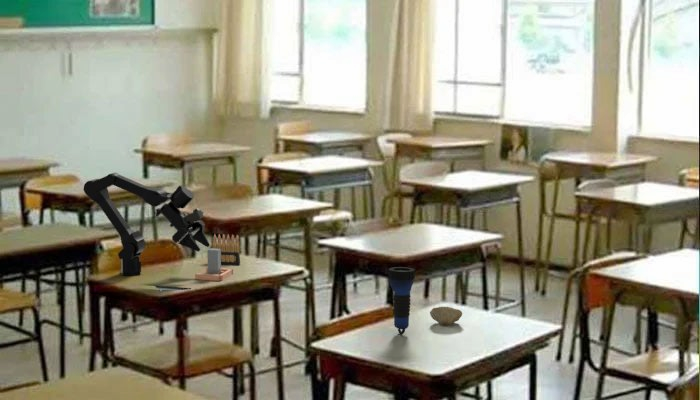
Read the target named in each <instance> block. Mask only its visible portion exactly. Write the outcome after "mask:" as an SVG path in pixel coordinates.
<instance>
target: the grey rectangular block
mask: <svg viewBox="0 0 700 400" xmlns="http://www.w3.org/2000/svg"><path fill="white" fill-rule="evenodd" d="M221 250H222V248H221V249H213V247H211V248H209V249H207V251H206V253H207V256H206V257H207V267H208V274H219V275H220V274H221V268H222V265H221Z"/></svg>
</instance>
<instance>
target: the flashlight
mask: <svg viewBox="0 0 700 400" xmlns="http://www.w3.org/2000/svg"><path fill="white" fill-rule="evenodd" d="M415 277H416V269H415V268H412V267H406V266H405V267H403V266H397V267H396V266H394V267H390V268H388V277H387V278H388V280H389V285H390V288H391V290H392V291H393V293H394V294H393V295H392V296H393V299H392V300H393V303H392V305H393V306H392V307H393V309H392V311H393V312H392V313H393V323H394V328H396V329H397V332H398V333H399V334H400V335H403V334H405V333H406V329H408V328H409V325H410V324H409V323H410V311H411V297H412V296H411V290H412V287H413V284H414V281H415Z"/></svg>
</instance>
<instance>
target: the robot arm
mask: <svg viewBox="0 0 700 400" xmlns="http://www.w3.org/2000/svg"><path fill="white" fill-rule="evenodd" d="M111 186H115V187H117V188H119V189H121V190H124V191H126V192H128V193H130V194H133V195H136V196H138V197H139V198H141V199H142V200H143V201H144V202H145V203H147V204H148V205H150V206H151V207H159V206H161V205H162V206H161V207H160V208H156V209H155V211H156V212H155V217H160V216H163V217H164V219H166V220H167V221H168V223H170V224H169V226H170V228H174V229H175V231H176V232H175V233H174V234H173V235H171V238H172V239H171V240H172V241H173V242H174V243H175V244H178V245H181V246H183V247H186V248H189V249H191V250H194V251H196V252H198V253H199V252H200V251H201V248H200V247H199V245H198V244H197V242H198V243H200V244H201V245H203V246H205V247H207V248H208V247H210V246H211V245H210V244H211V243H210V242H209V240H208V238H207V236H206V234H205V225H206V224H205V222H204V221H203V220H201V219H204V218H205V217H204V215H203V214H204V211H203V210H202V209H200V208H199V207H197V208H195V209H193V211H192V213H190V214H188V213H186V212H184V213H183V212H182V211H181V210H180V209H185V208H186V206H188V204H189V205H190V202H191V201H193V199H195V195H194V192H192V191H191V190H190V189H188V188H187V187H185V186H184V185H182V184H181V185H178V187H176V189H175V190H174V191H173V192H172V193H171V192H167V191H166V190H164V189H163V188H159V187H153V186H147V185H144V184H142V183H139V182H137V181H135V180H133V179H131V178H128V177H126V176H124V175H121V174H119V173H118V172H113V173H109V174H107V175H106V176H104V177H101V178H95V179H91V180H88V181H86V182H85V183H84V185H83V193H84V194H85V195H86V196H87V197H88V198H89V199H90V200H92V201H93V202H94V203H95V204H97V205H98V206H99V208H100V209H101V210H102V212H103V213H104V215H105V216H106V218H107V219H108V220H109V223H111V225H112V226H113V228H114V229H115V231H116V233H117V234H118V235H119V237H120V243H121V245H122V249H121V250H120V251H119V252H118V253H117V255H118V259H120V264H121V265H120V266H121V267H120V273H121V275H122V276H137V275H138V276H139V275H141V272H142V261H141V260H140V256H141V255H142V253H143V251H144V250H145V249H146V245H147V244H146V241H145V240H146V238H145V237H144V236H143V235H142V233H141V231H140V230H139V229H137V230H134V229H132V228H131V227H130V225H129V224H128V222H127V221H126V220H125V218H124V217H123V215H122V214H121V213H120V211H119V209H118V208H117V207H116V205H115V204H114V202H113V201H112V199H111V198H110V192H109V189H108V188H110V187H111ZM166 202H168V203H166ZM196 241H197V242H196Z"/></svg>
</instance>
